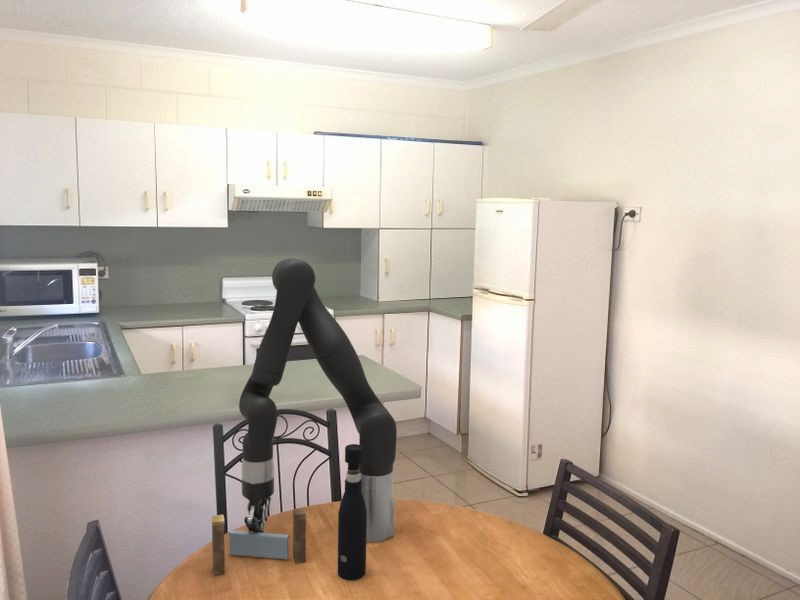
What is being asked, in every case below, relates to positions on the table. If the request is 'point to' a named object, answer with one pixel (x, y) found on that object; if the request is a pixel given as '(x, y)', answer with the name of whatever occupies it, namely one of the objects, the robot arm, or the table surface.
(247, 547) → the gate
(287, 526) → the table surface
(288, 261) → the robot arm
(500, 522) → the table surface
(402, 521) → the table surface
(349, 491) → the black water bottle
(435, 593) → the table surface
